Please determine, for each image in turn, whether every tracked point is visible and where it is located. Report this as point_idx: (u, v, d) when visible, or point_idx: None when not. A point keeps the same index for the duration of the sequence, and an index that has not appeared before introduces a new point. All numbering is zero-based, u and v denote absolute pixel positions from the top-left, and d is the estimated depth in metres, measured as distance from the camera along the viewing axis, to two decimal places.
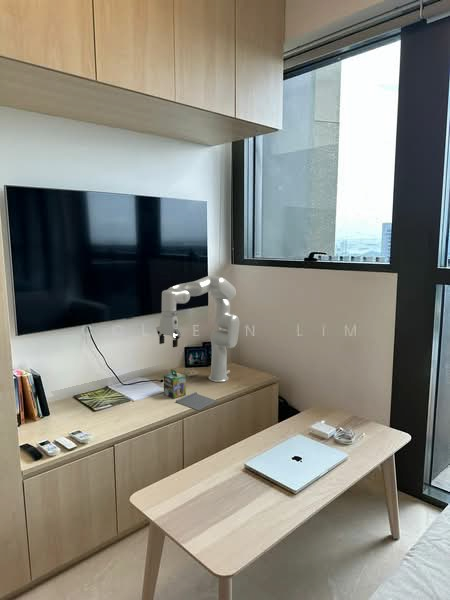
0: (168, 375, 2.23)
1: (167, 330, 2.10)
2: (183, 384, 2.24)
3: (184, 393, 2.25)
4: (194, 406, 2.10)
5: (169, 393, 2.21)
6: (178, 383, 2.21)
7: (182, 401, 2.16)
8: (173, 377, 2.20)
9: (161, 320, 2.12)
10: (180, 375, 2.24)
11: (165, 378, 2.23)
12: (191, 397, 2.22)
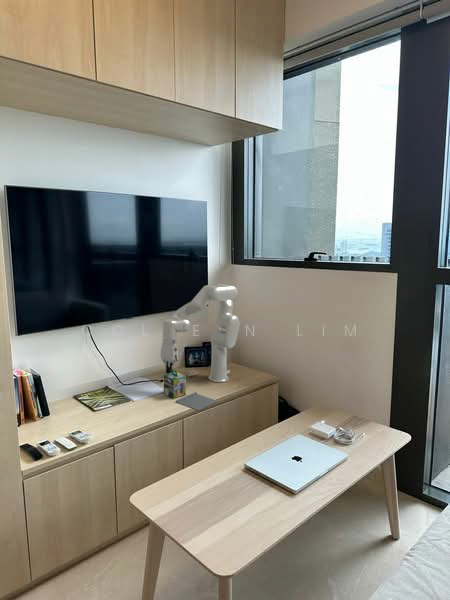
0: (168, 375, 2.23)
1: (167, 357, 2.23)
2: (183, 384, 2.23)
3: (184, 393, 2.25)
4: (194, 406, 2.10)
5: (169, 393, 2.21)
6: (178, 383, 2.21)
7: (182, 401, 2.16)
8: (173, 377, 2.20)
9: (162, 348, 2.25)
10: (180, 375, 2.23)
11: (165, 378, 2.22)
12: (191, 397, 2.22)
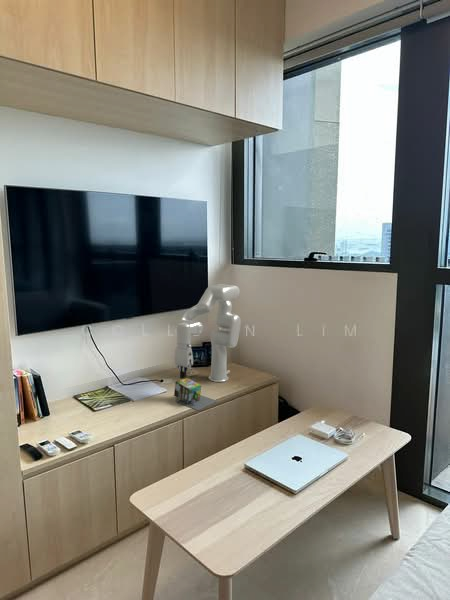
0: (191, 393, 2.12)
1: (182, 361, 2.17)
2: None
3: None
4: (194, 406, 2.10)
5: (177, 392, 2.17)
6: None
7: (182, 401, 2.16)
8: (190, 400, 2.13)
9: (176, 352, 2.19)
10: (197, 398, 2.16)
11: (187, 391, 2.11)
12: None
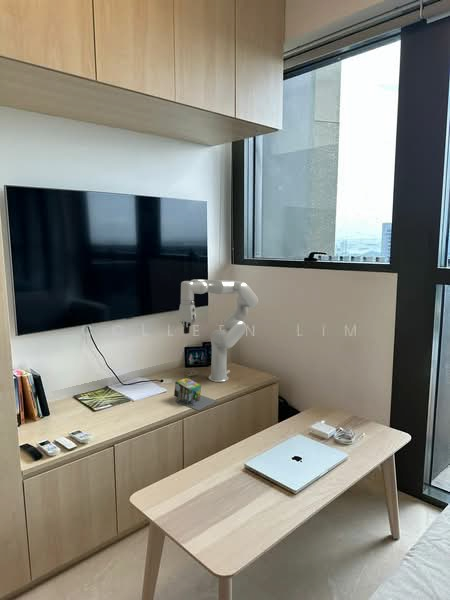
0: (191, 393, 2.12)
1: (186, 317, 2.31)
2: None
3: None
4: (194, 406, 2.10)
5: (176, 392, 2.17)
6: None
7: (182, 401, 2.16)
8: (190, 400, 2.13)
9: (180, 308, 2.33)
10: None
11: (187, 391, 2.11)
12: None
